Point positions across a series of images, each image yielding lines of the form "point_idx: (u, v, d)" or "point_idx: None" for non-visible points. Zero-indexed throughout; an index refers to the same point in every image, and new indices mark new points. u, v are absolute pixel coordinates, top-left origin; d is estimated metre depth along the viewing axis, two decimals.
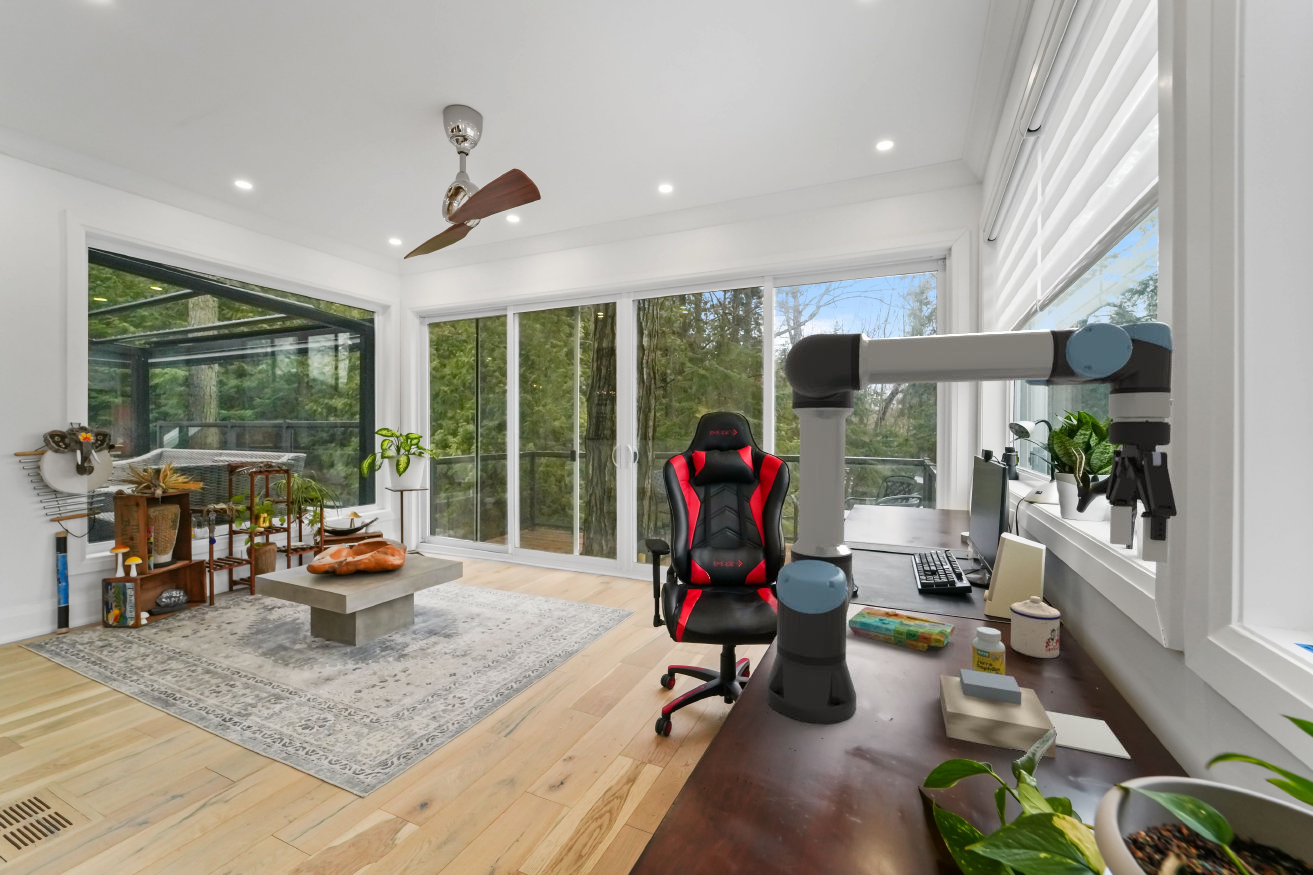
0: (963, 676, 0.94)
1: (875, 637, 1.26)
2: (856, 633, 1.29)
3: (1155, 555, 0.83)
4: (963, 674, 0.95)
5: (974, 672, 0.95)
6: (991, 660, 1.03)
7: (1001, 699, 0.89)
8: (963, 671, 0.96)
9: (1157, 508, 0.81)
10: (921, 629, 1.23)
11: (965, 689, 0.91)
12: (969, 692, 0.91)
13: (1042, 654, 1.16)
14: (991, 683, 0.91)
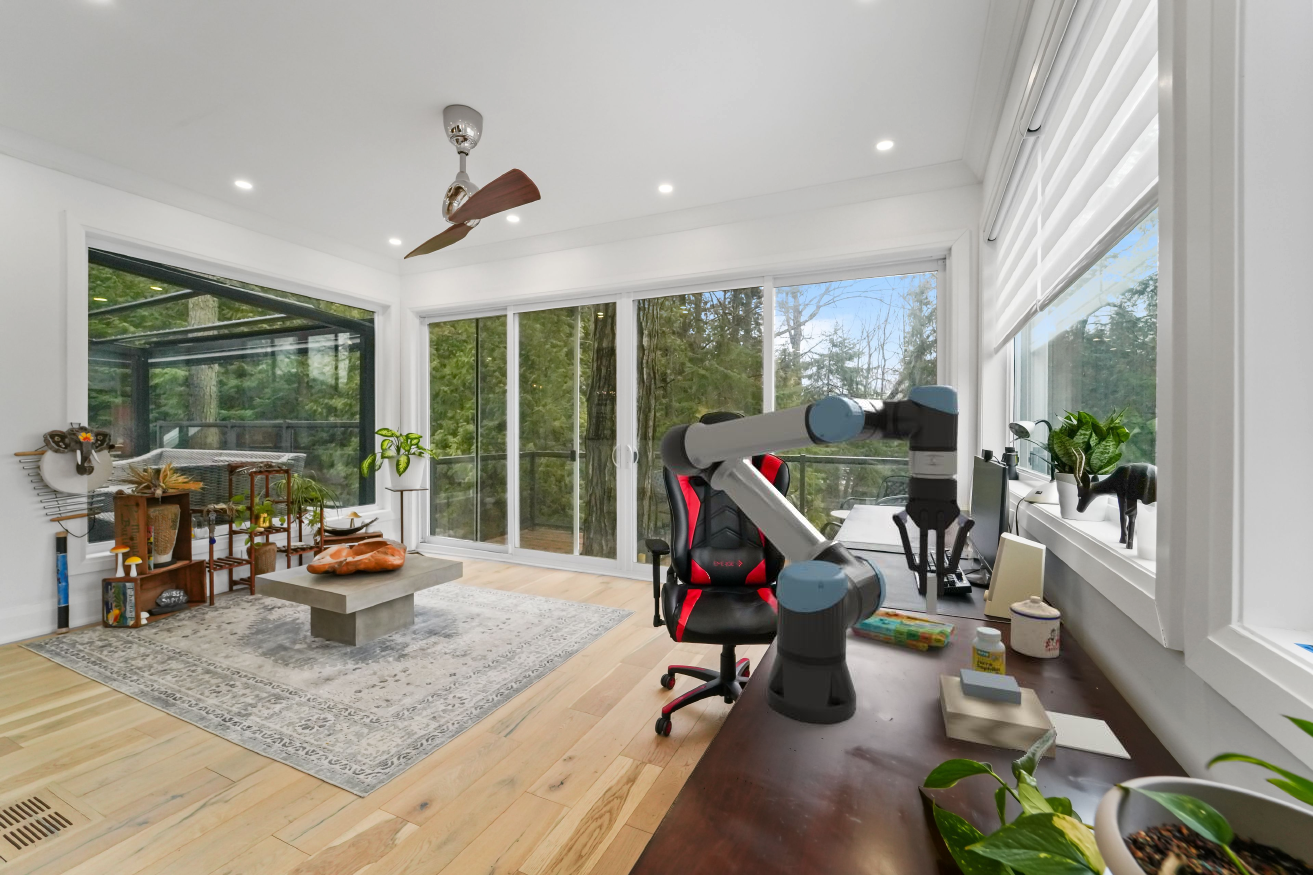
0: (963, 676, 0.94)
1: (875, 637, 1.26)
2: (856, 633, 1.28)
3: (926, 606, 0.96)
4: (963, 674, 0.95)
5: (974, 672, 0.95)
6: (991, 660, 1.03)
7: (1001, 699, 0.89)
8: (963, 671, 0.96)
9: None
10: (922, 629, 1.23)
11: (965, 689, 0.91)
12: (969, 692, 0.91)
13: (1042, 654, 1.16)
14: (991, 683, 0.91)
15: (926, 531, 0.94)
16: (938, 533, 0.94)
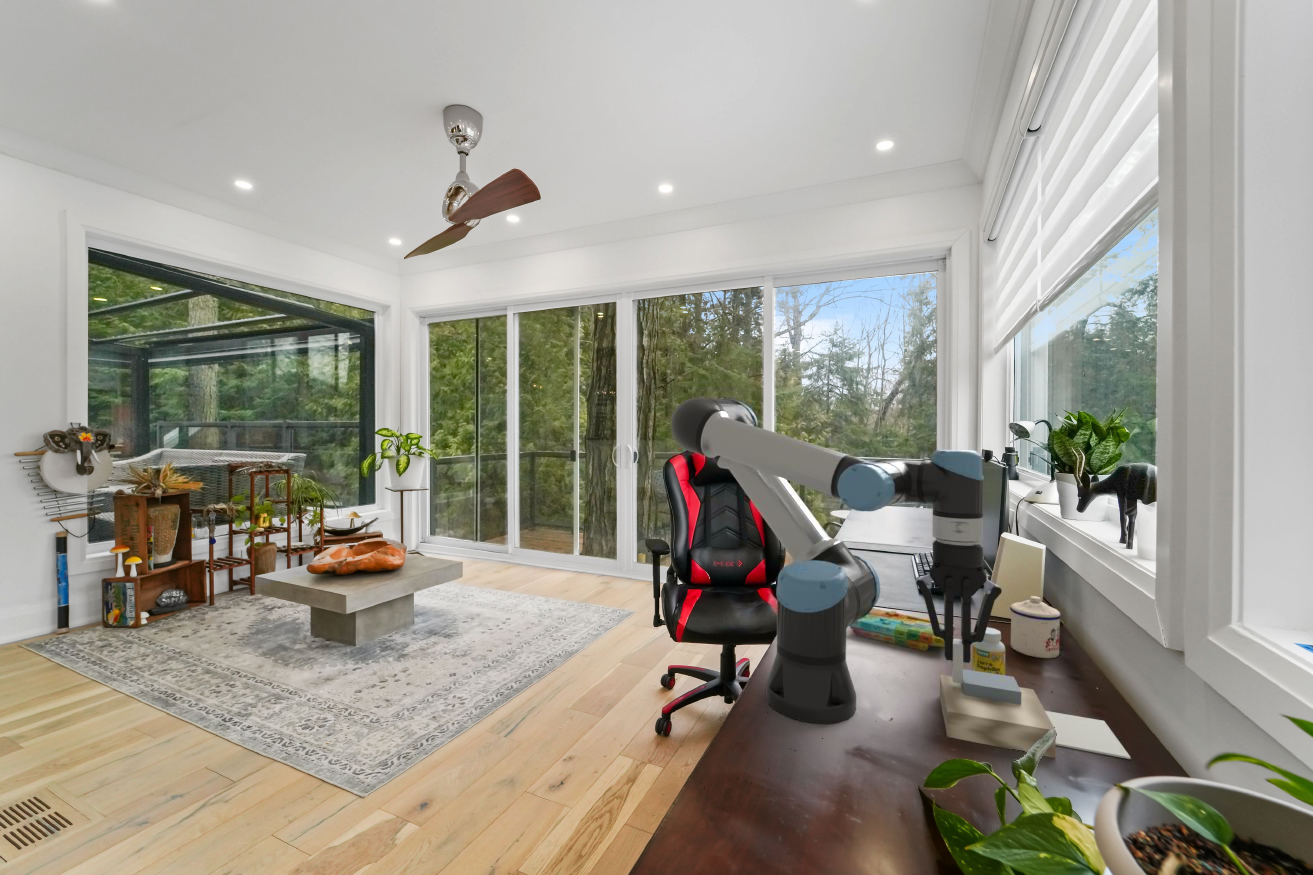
0: (963, 676, 0.94)
1: (876, 637, 1.26)
2: (857, 633, 1.28)
3: (952, 673, 0.95)
4: (963, 674, 0.95)
5: (974, 672, 0.95)
6: (991, 660, 1.03)
7: (1001, 699, 0.89)
8: (963, 671, 0.96)
9: None
10: (922, 629, 1.22)
11: (965, 689, 0.91)
12: (969, 692, 0.91)
13: (1042, 654, 1.16)
14: (991, 683, 0.91)
15: (951, 598, 0.93)
16: (963, 599, 0.92)
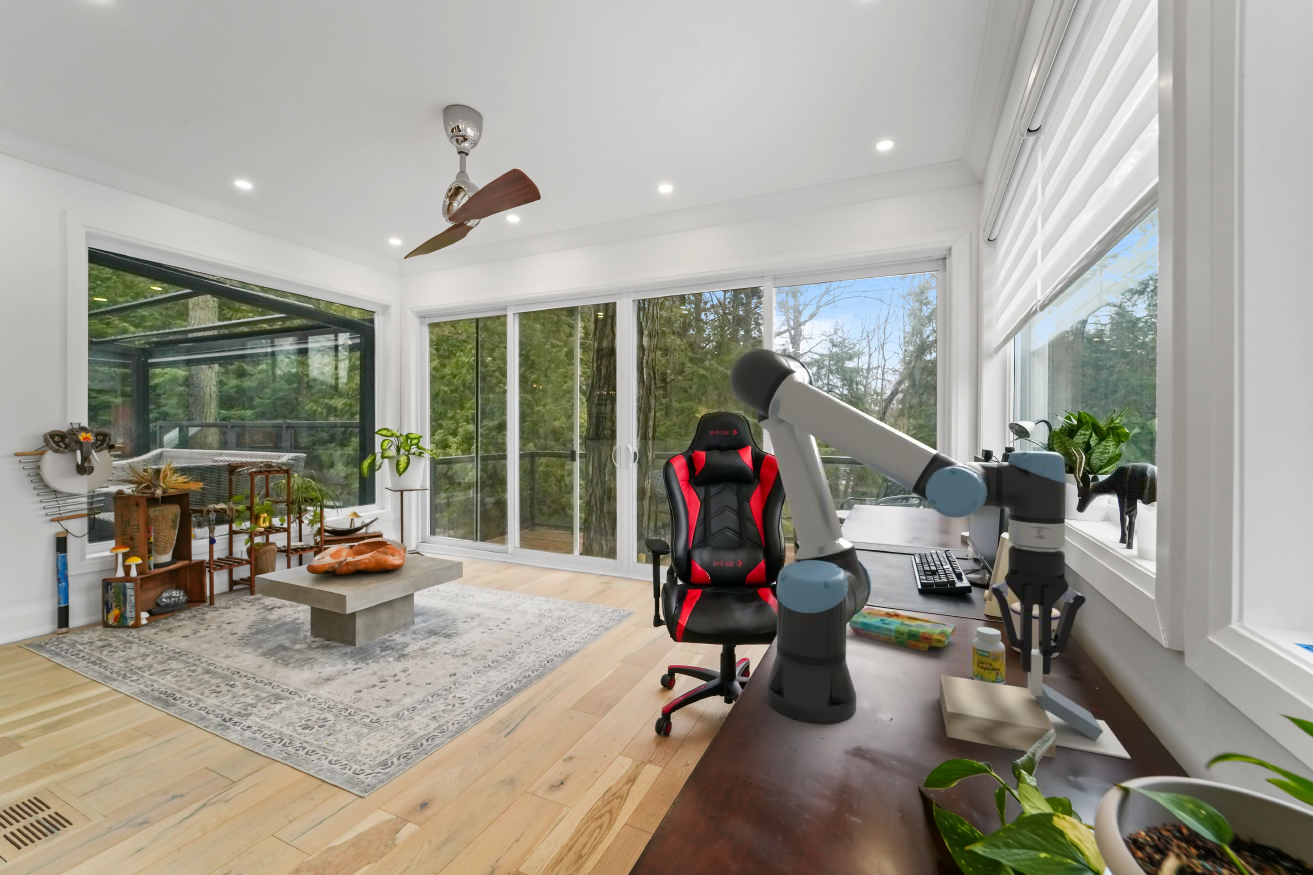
0: (1045, 689, 0.89)
1: (876, 637, 1.26)
2: (857, 633, 1.28)
3: (1029, 685, 0.90)
4: (1044, 688, 0.90)
5: (1053, 691, 0.91)
6: (991, 660, 1.03)
7: (1077, 727, 0.86)
8: (1043, 684, 0.91)
9: None
10: (922, 630, 1.22)
11: (1046, 702, 0.87)
12: (1048, 707, 0.87)
13: None
14: (1073, 709, 0.87)
15: (1031, 606, 0.89)
16: (1044, 608, 0.88)
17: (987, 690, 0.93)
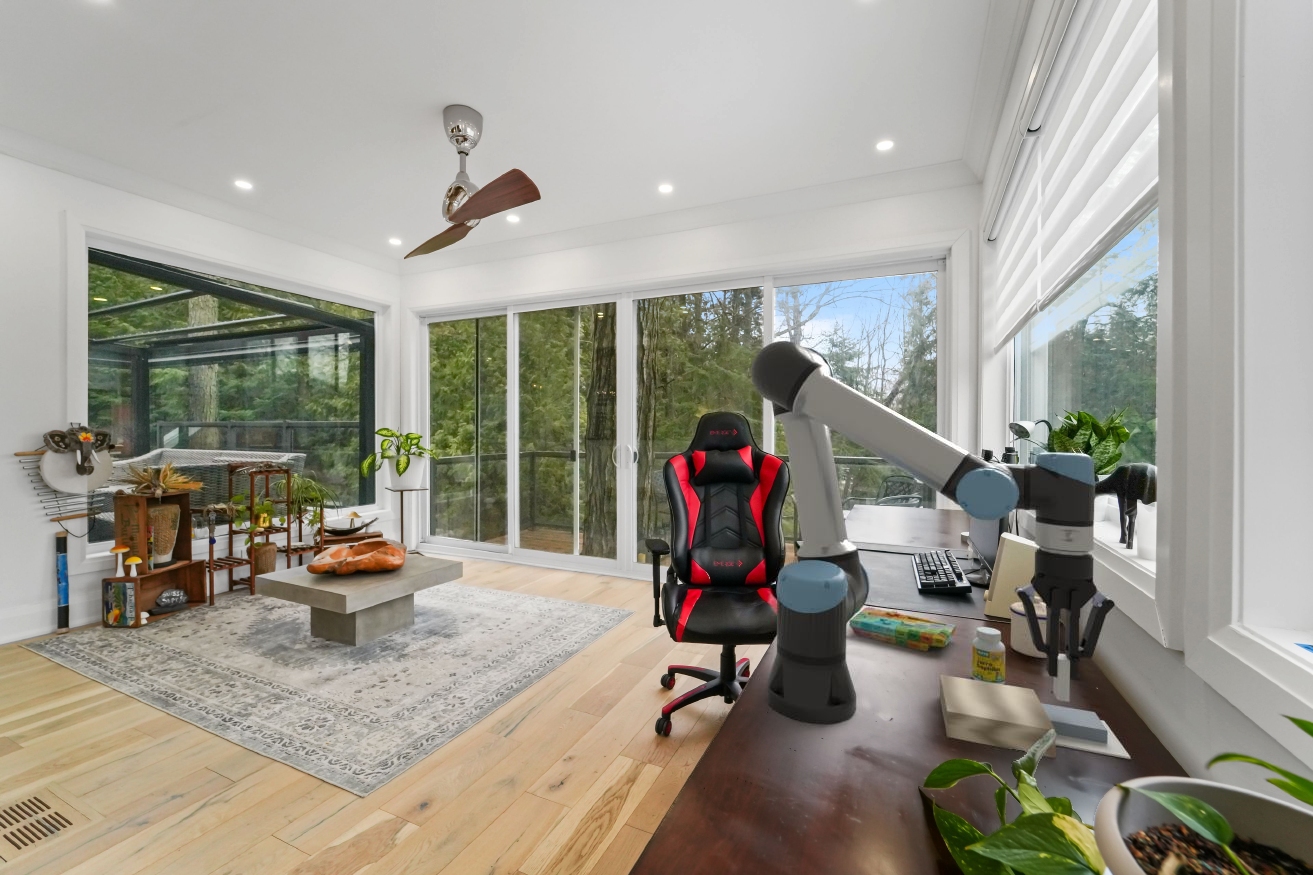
0: None
1: (876, 637, 1.26)
2: (857, 633, 1.28)
3: (1055, 690, 0.89)
4: None
5: (1051, 706, 0.91)
6: (991, 660, 1.03)
7: (1085, 737, 0.85)
8: None
9: None
10: (923, 630, 1.22)
11: None
12: None
13: (1042, 654, 1.16)
14: (1073, 719, 0.87)
15: (1058, 610, 0.87)
16: (1072, 613, 0.87)
17: (987, 690, 0.93)
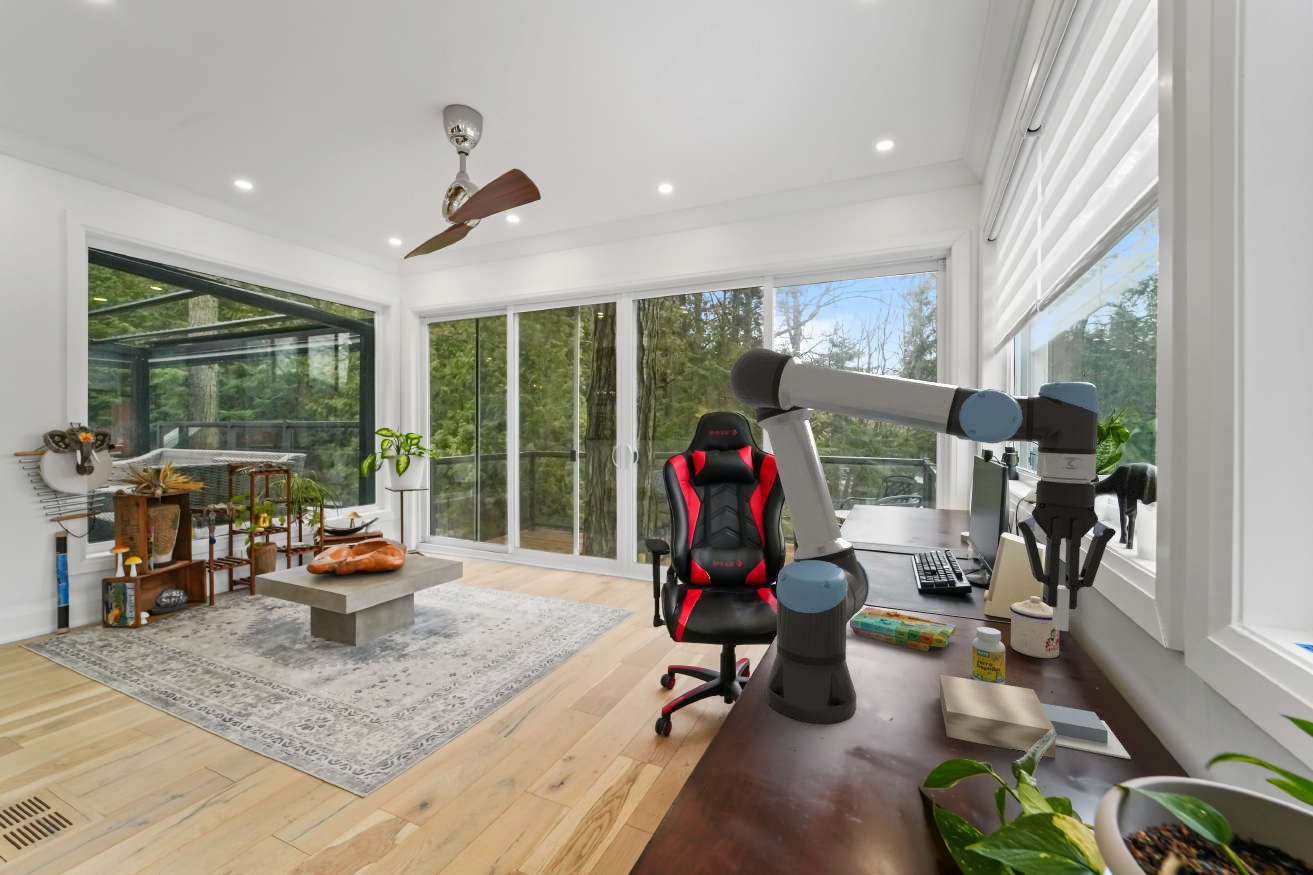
0: None
1: (876, 637, 1.26)
2: (857, 633, 1.28)
3: (1054, 621, 0.89)
4: None
5: (1051, 706, 0.91)
6: (991, 660, 1.03)
7: (1085, 737, 0.85)
8: None
9: None
10: (923, 630, 1.22)
11: None
12: None
13: (1042, 654, 1.16)
14: (1073, 719, 0.87)
15: (1059, 540, 0.87)
16: (1072, 542, 0.87)
17: (987, 690, 0.93)
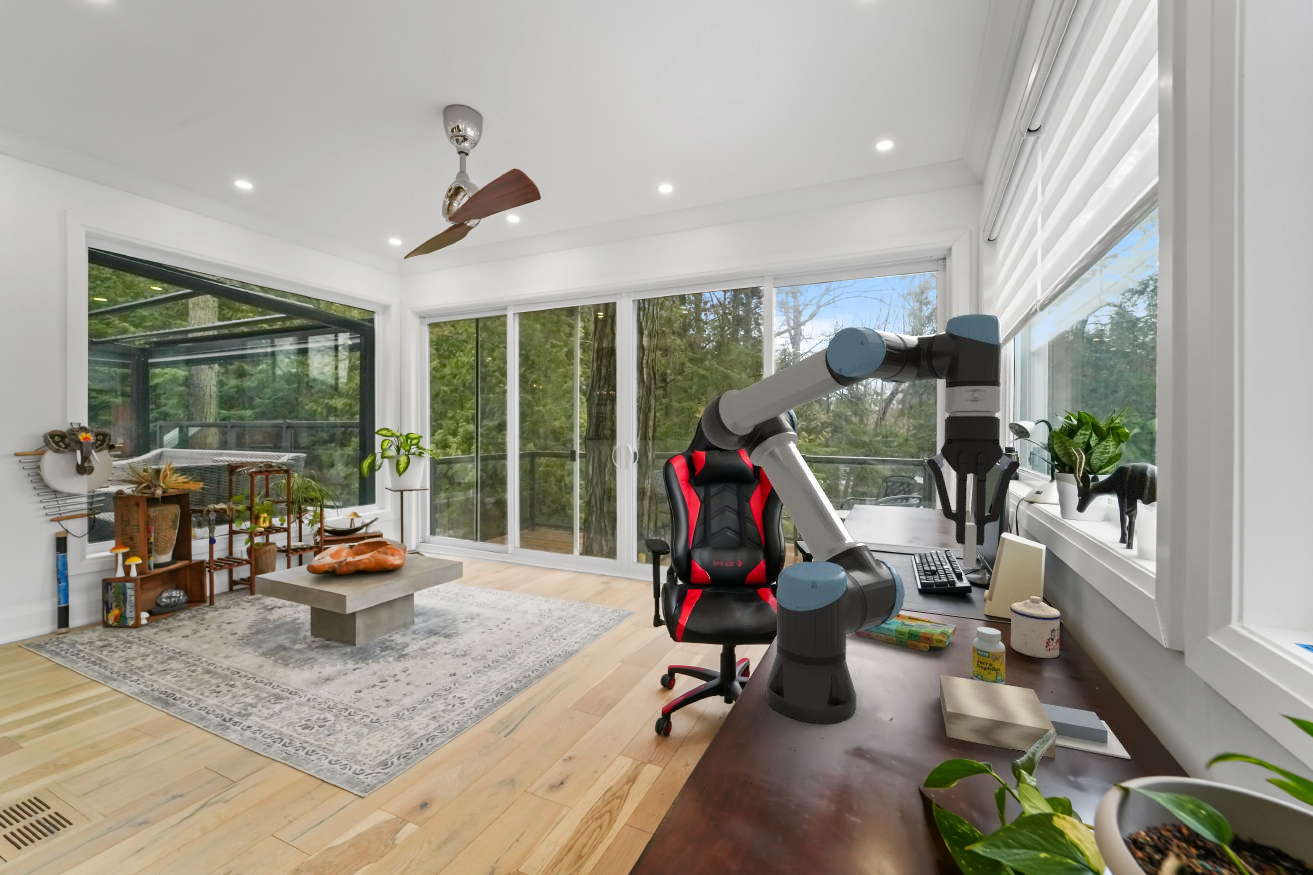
0: None
1: (876, 637, 1.26)
2: (857, 633, 1.28)
3: (963, 558, 0.88)
4: None
5: (1051, 706, 0.91)
6: (991, 660, 1.03)
7: (1085, 737, 0.85)
8: None
9: None
10: (923, 630, 1.22)
11: None
12: None
13: (1042, 654, 1.16)
14: (1073, 719, 0.87)
15: (965, 475, 0.86)
16: (978, 476, 0.85)
17: (987, 690, 0.93)
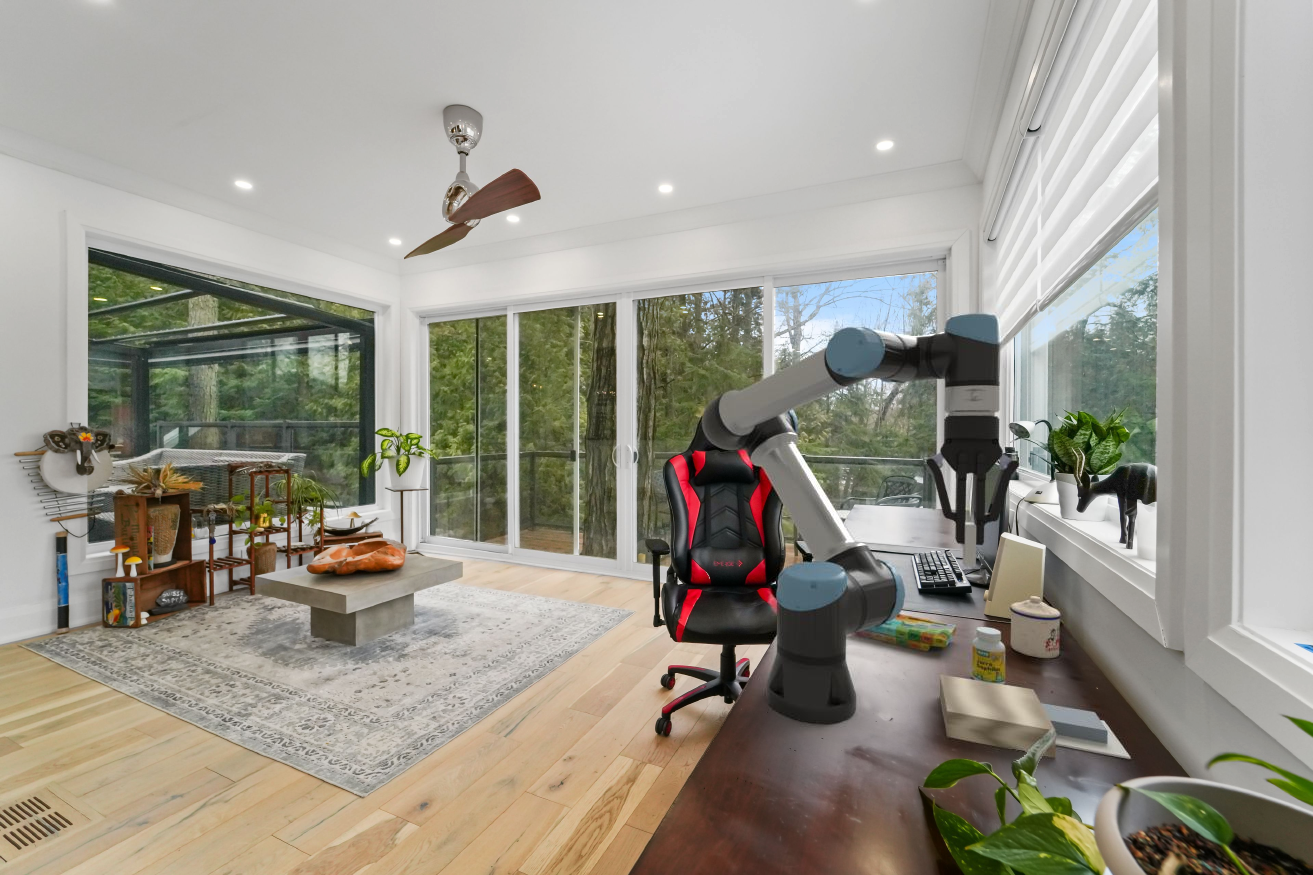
0: None
1: (877, 637, 1.26)
2: (858, 633, 1.28)
3: (963, 558, 0.88)
4: None
5: (1051, 706, 0.91)
6: (991, 660, 1.03)
7: (1085, 737, 0.85)
8: None
9: None
10: (923, 630, 1.22)
11: None
12: None
13: (1042, 654, 1.16)
14: (1073, 719, 0.87)
15: (964, 474, 0.86)
16: (978, 476, 0.85)
17: (987, 690, 0.93)
